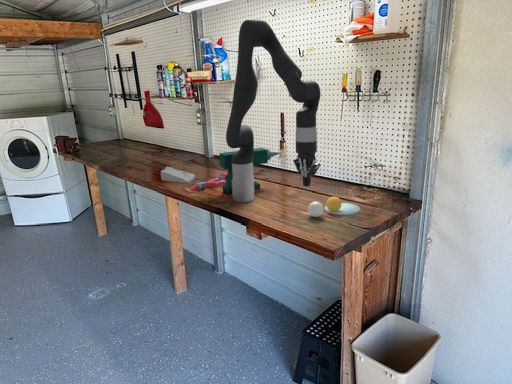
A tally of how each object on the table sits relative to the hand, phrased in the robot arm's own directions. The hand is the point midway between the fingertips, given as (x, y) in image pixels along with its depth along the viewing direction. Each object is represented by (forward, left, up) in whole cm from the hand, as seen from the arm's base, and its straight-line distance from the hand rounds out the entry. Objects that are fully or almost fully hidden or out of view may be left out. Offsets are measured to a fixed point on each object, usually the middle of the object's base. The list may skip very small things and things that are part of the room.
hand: (306, 186), depth 139 cm
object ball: (+3, +14, -10) cm, 18 cm away
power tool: (-44, +17, -14) cm, 49 cm away
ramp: (-96, +10, -14) cm, 98 cm away
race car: (-68, +9, -14) cm, 70 cm away
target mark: (+4, +19, -14) cm, 23 cm away
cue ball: (0, +5, -10) cm, 12 cm away
